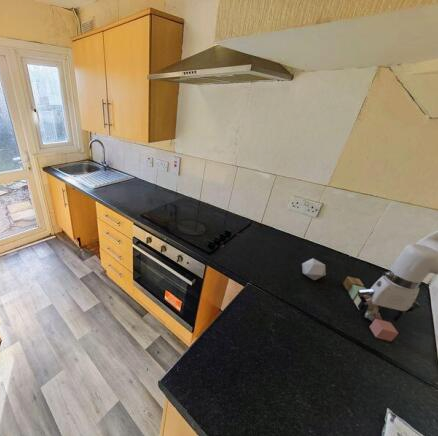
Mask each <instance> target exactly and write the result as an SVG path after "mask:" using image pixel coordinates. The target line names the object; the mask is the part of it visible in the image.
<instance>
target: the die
mask: <svg viewBox="0 0 438 436" xmlns="http://www.w3.org/2000/svg"><path fill="white" fill-rule="evenodd" d="M301 269H302V274H303V275H305V276H306V277H308V278H310V279H311V280H313V281H317V280H318V279H320V278H323V277H324V276H326V275H327V273H326V264H324V263H323V262H321V261H320V260H317V259H315V258H313V257H312V258H311V259H308V260H306V261H304V262H303V263H301Z"/></svg>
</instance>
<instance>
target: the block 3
mask: <svg viewBox="0 0 438 436" xmlns="http://www.w3.org/2000/svg"><path fill="white" fill-rule="evenodd" d="M364 296H366V295H364ZM368 300H371V299H367V300H366V301H368ZM360 302H361V299H360V298H359V296H357V297H356V299H355V300H353V303H354V304H355V306H356V307H357V309H358V310H359V308H358V305H359V303H360ZM368 306H369V307H368V308H367V310H366V311H372V312H373V311H374V310H375V308H376V307H379V305H375V304H374V303H372V304H368ZM366 311H365V312H366Z"/></svg>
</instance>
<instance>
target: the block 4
mask: <svg viewBox="0 0 438 436" xmlns="http://www.w3.org/2000/svg"><path fill="white" fill-rule="evenodd" d="M369 329H370V330H371V332H372V334H373V336H374V337H375V338H376V339H380V340H384V341H387V342H392V341H393V340H395V338H396V337H397V336H398V334H399V332H398V331H397V329H396V328H395V325H393V323H392V322H390V321H386V320H383V319H382V320H379V319H375V320H374V321H373V322H372V323H371V324H370V325H369Z"/></svg>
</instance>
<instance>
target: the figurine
mask: <svg viewBox="0 0 438 436" xmlns="http://www.w3.org/2000/svg"><path fill="white" fill-rule="evenodd" d="M364 318H366V319H368V320H369V321H371V322H372V323H373V321H374V320H375V319H379V320H383V317H382V316H381V313H380V312H379V306H377V307H376V308H375V310H374V311H373V312H372V311H365V313H364Z"/></svg>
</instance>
